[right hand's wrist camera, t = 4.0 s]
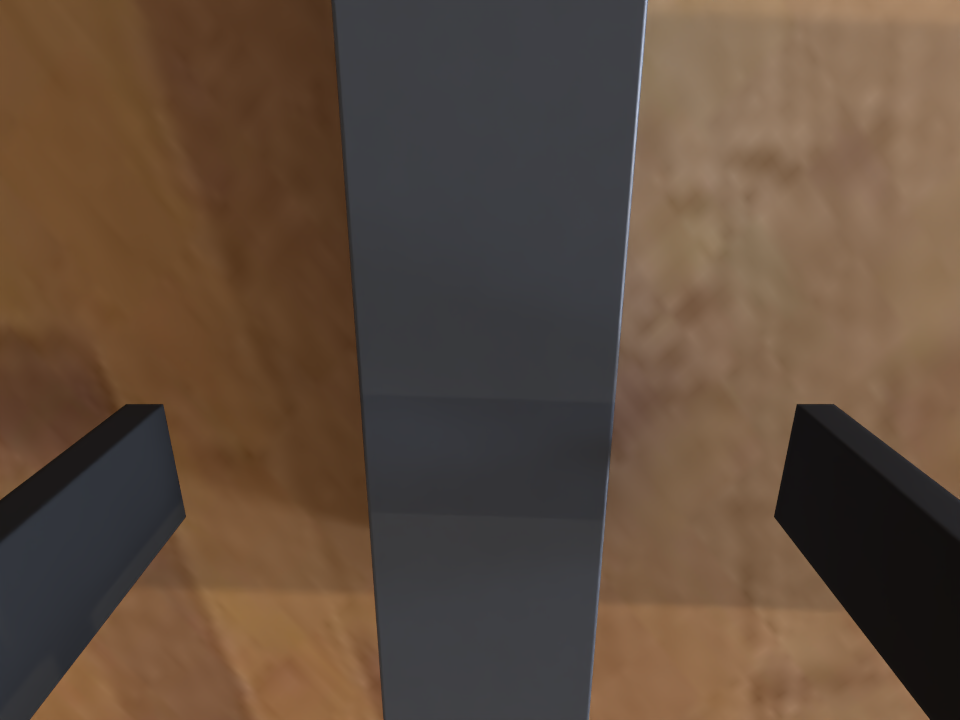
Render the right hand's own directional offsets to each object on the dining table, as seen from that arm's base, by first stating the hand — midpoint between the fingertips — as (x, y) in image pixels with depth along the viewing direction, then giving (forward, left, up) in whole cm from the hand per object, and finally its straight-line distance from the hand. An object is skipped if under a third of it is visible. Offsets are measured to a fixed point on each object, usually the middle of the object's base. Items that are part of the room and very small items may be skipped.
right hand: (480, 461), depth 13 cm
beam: (+2, -19, -7) cm, 20 cm away
